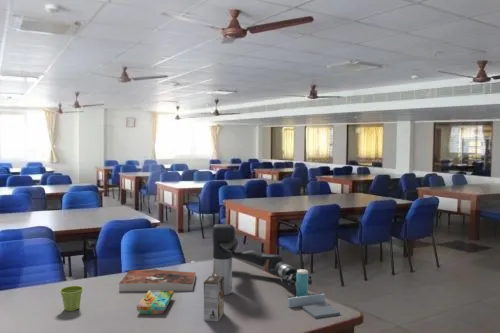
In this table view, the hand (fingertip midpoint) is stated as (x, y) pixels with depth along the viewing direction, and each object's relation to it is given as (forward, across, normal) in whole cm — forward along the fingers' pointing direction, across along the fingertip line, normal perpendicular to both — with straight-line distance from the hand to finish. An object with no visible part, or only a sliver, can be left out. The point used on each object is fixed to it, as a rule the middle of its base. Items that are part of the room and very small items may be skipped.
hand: (302, 283), depth 206 cm
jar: (0, 0, -7) cm, 7 cm away
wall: (+8, +2, -7) cm, 11 cm away
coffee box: (+8, +45, -7) cm, 46 cm away
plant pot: (-21, +101, -8) cm, 103 cm away
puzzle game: (-12, +66, -8) cm, 68 cm away
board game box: (-44, +60, -8) cm, 75 cm away
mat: (+17, 0, -7) cm, 18 cm away
